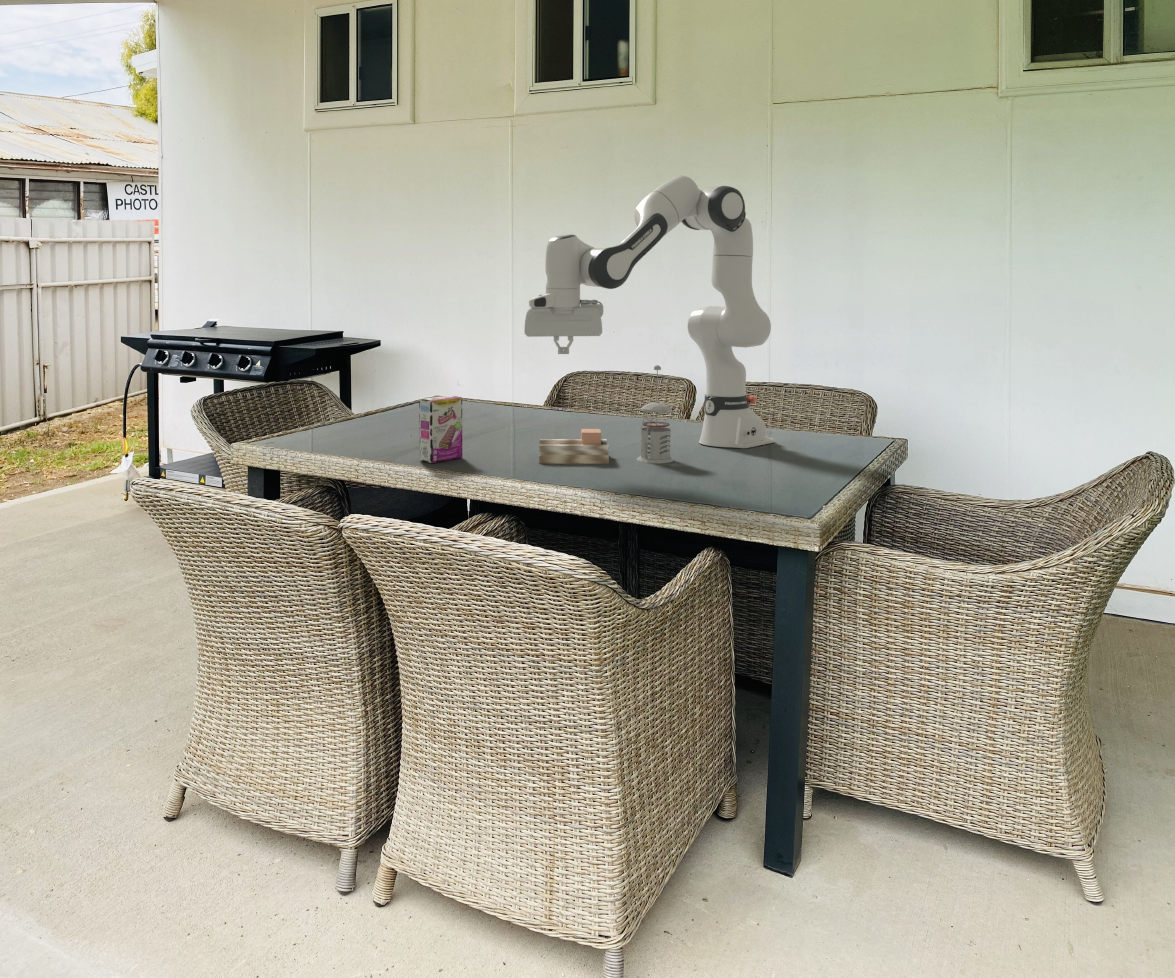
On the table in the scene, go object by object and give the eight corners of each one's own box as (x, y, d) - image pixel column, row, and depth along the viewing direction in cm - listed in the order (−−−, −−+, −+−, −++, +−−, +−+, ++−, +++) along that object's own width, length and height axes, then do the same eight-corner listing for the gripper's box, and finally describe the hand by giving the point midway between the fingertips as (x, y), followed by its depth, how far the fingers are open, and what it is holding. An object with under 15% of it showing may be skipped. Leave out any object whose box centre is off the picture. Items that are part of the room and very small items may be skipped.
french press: (679, 458, 260) (682, 364, 254) (660, 466, 250) (662, 368, 244) (647, 455, 264) (649, 362, 259) (626, 461, 255) (628, 366, 249)
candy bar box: (432, 464, 249) (430, 400, 246) (419, 461, 253) (417, 398, 249) (464, 458, 258) (463, 396, 254) (451, 455, 261) (449, 394, 257)
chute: (605, 454, 264) (606, 438, 263) (608, 463, 252) (609, 446, 251) (539, 454, 263) (539, 438, 262) (539, 463, 252) (539, 446, 251)
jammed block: (599, 449, 261) (599, 428, 259) (600, 453, 255) (601, 432, 253) (580, 449, 260) (581, 428, 259) (581, 453, 254) (581, 432, 253)
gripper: (602, 299, 254) (602, 352, 257) (524, 299, 253) (525, 353, 256) (604, 300, 248) (604, 354, 251) (523, 300, 247) (524, 355, 250)
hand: (563, 354), depth 254 cm, fingers closed
